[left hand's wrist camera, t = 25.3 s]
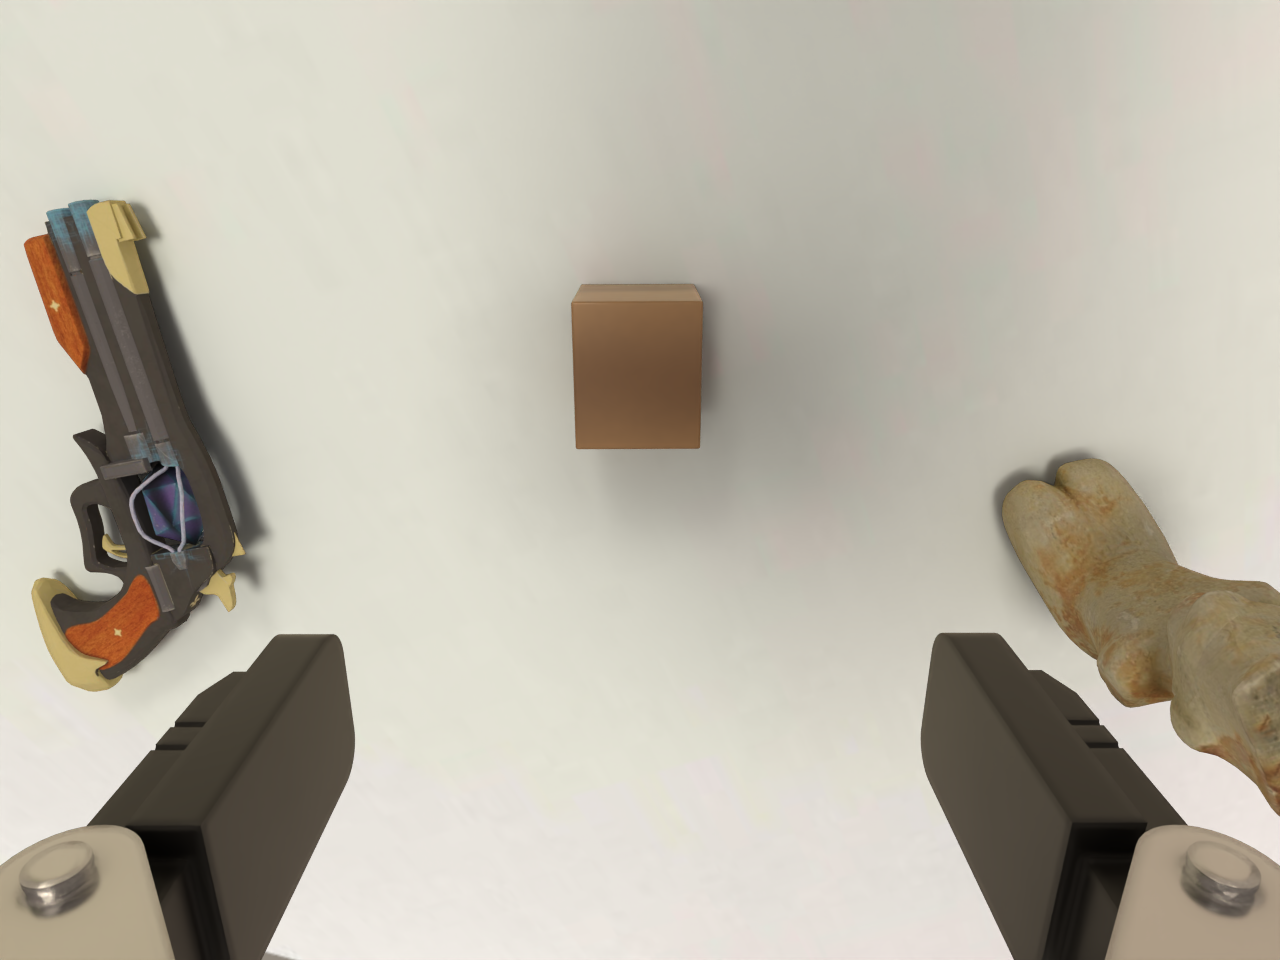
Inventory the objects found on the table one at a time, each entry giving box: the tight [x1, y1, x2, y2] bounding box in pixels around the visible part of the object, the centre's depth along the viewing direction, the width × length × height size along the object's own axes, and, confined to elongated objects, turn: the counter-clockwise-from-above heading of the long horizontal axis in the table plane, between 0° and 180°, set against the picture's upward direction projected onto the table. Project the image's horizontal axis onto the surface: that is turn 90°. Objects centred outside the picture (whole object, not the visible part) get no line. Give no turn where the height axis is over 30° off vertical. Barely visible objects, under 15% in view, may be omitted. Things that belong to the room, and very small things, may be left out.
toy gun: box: [24, 200, 246, 691], centre depth 33 cm, size 3×19×10 cm
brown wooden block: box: [571, 284, 703, 449], centre depth 31 cm, size 5×4×5 cm
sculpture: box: [1002, 458, 1280, 816], centre depth 28 cm, size 6×7×15 cm
